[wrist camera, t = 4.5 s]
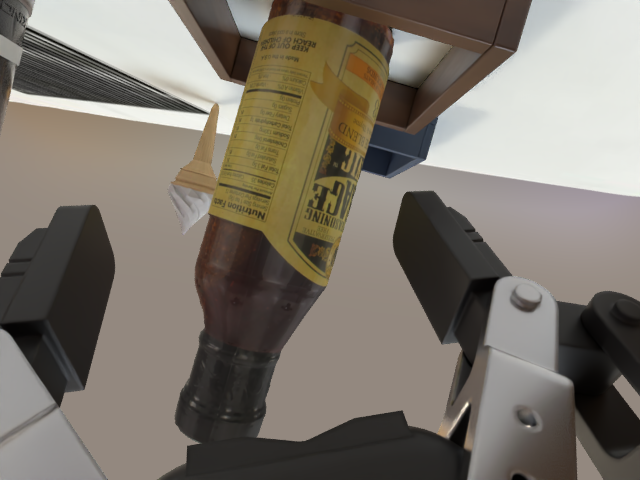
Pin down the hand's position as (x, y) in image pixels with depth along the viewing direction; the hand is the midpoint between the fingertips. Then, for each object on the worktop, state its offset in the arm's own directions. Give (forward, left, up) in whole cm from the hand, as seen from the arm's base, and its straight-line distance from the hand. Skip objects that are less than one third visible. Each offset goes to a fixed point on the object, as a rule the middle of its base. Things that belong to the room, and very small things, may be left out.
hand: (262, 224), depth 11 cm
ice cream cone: (-12, -34, -10) cm, 37 cm away
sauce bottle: (0, -8, -10) cm, 13 cm away
